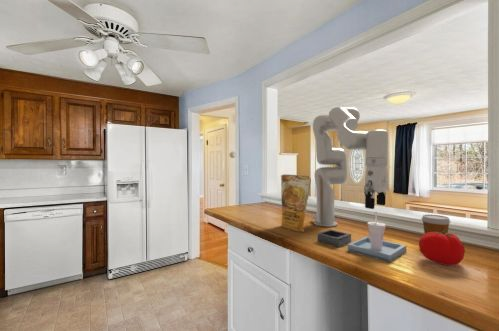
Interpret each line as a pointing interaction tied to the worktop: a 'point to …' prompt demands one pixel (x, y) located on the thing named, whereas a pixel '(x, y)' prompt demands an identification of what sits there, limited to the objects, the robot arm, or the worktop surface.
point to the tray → (386, 254)
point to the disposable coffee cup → (435, 223)
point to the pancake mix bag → (294, 201)
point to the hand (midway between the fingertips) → (375, 206)
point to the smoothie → (376, 233)
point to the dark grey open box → (334, 238)
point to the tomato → (442, 248)
